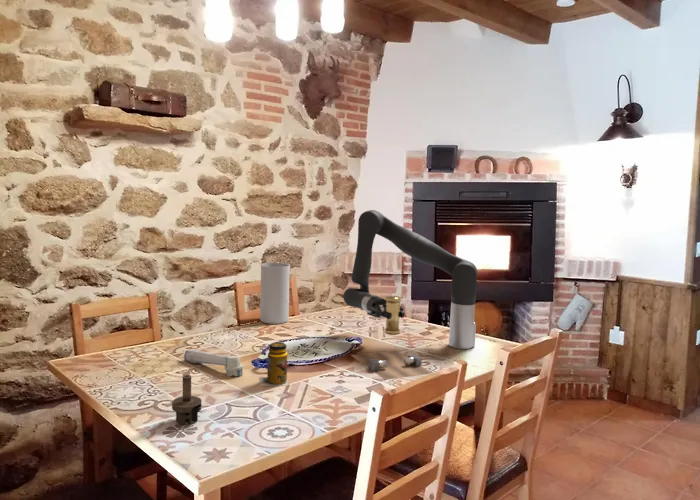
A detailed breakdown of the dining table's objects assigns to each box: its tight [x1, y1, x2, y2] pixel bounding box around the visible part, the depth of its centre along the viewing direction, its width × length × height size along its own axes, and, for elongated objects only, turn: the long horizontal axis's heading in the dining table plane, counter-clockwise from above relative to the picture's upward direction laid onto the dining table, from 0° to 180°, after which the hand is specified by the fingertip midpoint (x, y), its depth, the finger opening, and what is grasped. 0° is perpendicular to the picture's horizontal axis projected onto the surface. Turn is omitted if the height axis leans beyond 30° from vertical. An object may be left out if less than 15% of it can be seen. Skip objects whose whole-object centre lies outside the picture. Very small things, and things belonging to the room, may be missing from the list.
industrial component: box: [171, 374, 202, 425], centre depth 143 cm, size 9×7×12 cm
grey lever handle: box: [183, 348, 244, 377], centre depth 184 cm, size 5×7×25 cm
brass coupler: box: [384, 295, 402, 336], centre depth 201 cm, size 5×5×13 cm
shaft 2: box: [404, 354, 423, 367], centre depth 192 cm, size 5×4×3 cm
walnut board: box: [350, 350, 433, 380], centre depth 193 cm, size 18×26×1 cm
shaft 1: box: [368, 359, 387, 373], centre depth 187 cm, size 5×4×3 cm
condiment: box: [259, 341, 290, 387], centre depth 173 cm, size 7×8×12 cm
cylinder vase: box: [259, 262, 291, 325], centre depth 246 cm, size 12×12×25 cm
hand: (396, 315), depth 199 cm, fingers closed on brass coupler, 4 cm apart
